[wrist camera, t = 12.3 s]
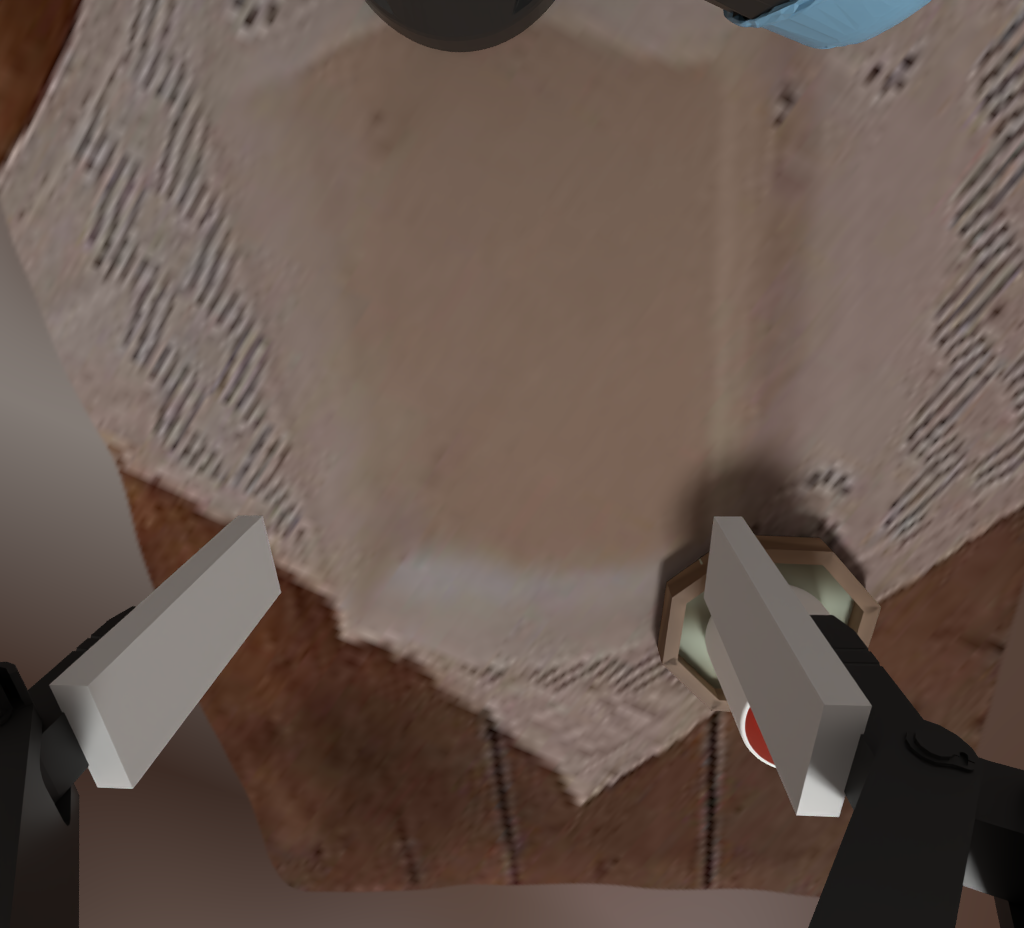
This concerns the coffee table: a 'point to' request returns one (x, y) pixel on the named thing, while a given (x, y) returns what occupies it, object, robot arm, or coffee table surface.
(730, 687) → the cup
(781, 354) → the coffee table surface
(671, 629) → the tray
